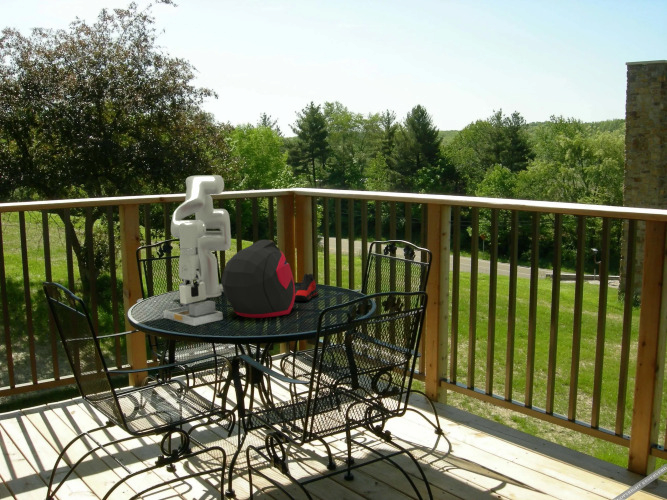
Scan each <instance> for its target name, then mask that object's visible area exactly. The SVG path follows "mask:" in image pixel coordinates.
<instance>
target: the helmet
mask: <svg viewBox="0 0 667 500" xmlns="http://www.w3.org/2000/svg"><path fill="white" fill-rule="evenodd" d="M286 259H287V257H285V254H284V253H283V251H281V250H280V248H279V247H278V245H277V244H276V243H275V242H274V241H273V240H270V239H260V240H258V241H256V242H254V243H252V244H250V245H249V246H247V247H245V248H242V249H240V250H239V251H238V252H236V253H235V254H233V256H232V257H230V259H229V260H227V262H226V263H225V267H224V269H223V273H222V275H221V278H220V281H221V286H223V290H222V291H223V295H224V296H225V297H226V299H227V301H228V303H229V304H230V306H231V307H232V311H233V312H234V313H235V314H236V315H238V316H241V317H245V318H254V319H255V318H257V319H258V318H260V319H261V318H263V319H265V318H273V317H278V316H283V315H288V314H290V313H291V311H292V309H293V307H294V303H295V301H296V300H295V294H296V287H295V280H294V276H293V272H292V269H291V265H290V263H288V262H287V261H286Z"/></svg>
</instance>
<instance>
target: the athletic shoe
mask: <svg viewBox="0 0 667 500" xmlns="http://www.w3.org/2000/svg"><path fill="white" fill-rule="evenodd" d="M316 283H317V282H316V281H315V277H314V275H313V273H309V274H308V273H304V274H303V278H302V281H301V283H300V285H299V289H298V290H297V291H296V292H295V300H294V301H298V302H309V301H310V300H311V299H313V298H315V297H317V296H318V295H319V292H318V290H317V285H316ZM312 297H313V298H312Z"/></svg>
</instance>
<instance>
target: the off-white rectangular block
mask: <svg viewBox="0 0 667 500" xmlns="http://www.w3.org/2000/svg"><path fill="white" fill-rule="evenodd" d="M191 287H192V284H187V285H182V286H179V285H178V288H179V289H178V290H179V291H180V293H179V294H180V298H179V304H180V303H184V304H188V303H192V302H194V303H197V302H202V301H206V300H207V298H206V290H205V283H203V282H200V284H199V287H198V292H199V296H196V297H192V296H191Z"/></svg>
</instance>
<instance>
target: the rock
mask: <svg viewBox="0 0 667 500" xmlns="http://www.w3.org/2000/svg"><path fill="white" fill-rule="evenodd" d="M182 285H183V282H182V283H180V284H179V285H178V287H179V286H182ZM178 296H179V299H180V291H179V295H178ZM194 303H195V302H192V303H188V304H184V303H180V302H179V305H182V307H184V306H189V304H194Z"/></svg>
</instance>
